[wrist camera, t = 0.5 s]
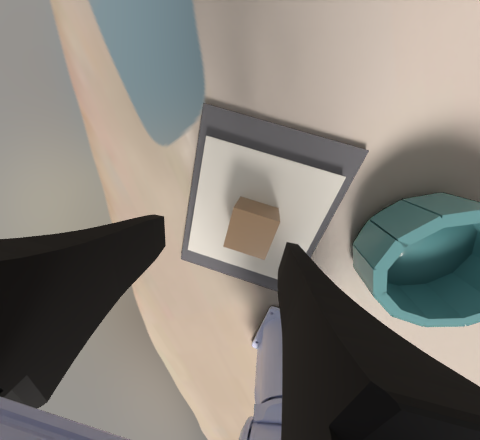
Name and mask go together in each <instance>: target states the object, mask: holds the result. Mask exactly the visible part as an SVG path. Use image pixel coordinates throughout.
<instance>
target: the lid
mask: <svg viewBox="0 0 480 440" xmlns="http://www.w3.org/2000/svg"><path fill="white" fill-rule="evenodd" d="M345 179H346V177H344V176H342V175H338V174H335V173H332V172H328V171H325V170H321V169H318V168H315V167H311V166H308V165H305V164H301V163H298V162H294V161H291V160H288V159H284V158H281V157H278V156H274V155H271V154H267V153H264V152H261V151H257V150H254V149H251V148H247V147H244V146H241V145H237V144H234V143H230V142H227V141H224V140H220V139H217V138H214V137H210V136H206V140H205V146H204V152H203V158H202V165H201V171H200V177H199V183H198V189H197V195H196V202H195V208H194V214H193V220H192V226H191V232H190V239H189V245H188V250H190V251H193V252H196V253H199V254H202V255H205V256H208V257H211V258H214V259H217V260H220V261H223V262H226V263H229V264H232V265H235V266H238V267H241V268H244V269H247V270H250V271H253V272H256V273H259V274H262V275H265V276H268V277H271V278H274V279H278V269H279V265H280V262H281V259H282V256H283V252H284V249H285V246H286V243H287V242H290V243H294V244H298V245H299V246H300V247H301V248H302V249H303V250H304V251H305V253H306V252H307V250H308V249H309V247H310V245H311V243H312V241H313V239H314V237H315V235H316V233H317V232H318V230H319V228H320V226H321V224H322V222H323V220H324V218H325V216H326V215H327V213H328V211H329V209H330V207H331V205H332V203H333V201H334V199H335V197H336V196H337V194H338V192H339V190H340V188H341V186H342V184H343V182H344V180H345Z"/></svg>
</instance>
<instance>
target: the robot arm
mask: <svg viewBox="0 0 480 440" xmlns="http://www.w3.org/2000/svg"><path fill="white" fill-rule="evenodd" d="M164 247H165V227H164V216H159V215H147V216H142V217H138V218H133V219H129V220H125V221H121V222H117V223H112V224H108V225H103V226H99V227H94V228H89V229H84V230H78V231H72V232H65V233H59V234H52V235H42V236H32V237H23V238H13V239H0V440H130V439H127V438H124V437H121V436H118V435H115V434H112V433H109V432H106V431H103V430H100V429H97V428H94V427H91V426H88V425H84V424H82V423H78V422H76V421H73V420H70V419H67V418H63V417H60V416H57V415H54V414H51V413H48V412H45V411H42V410H39V409H37V408H39V407H41V406H42V405H44V404H45V403H47V402H48V400H49V399H50V397H51V395H52V394H53V392H54V391H55V389H56V387H57V386H58V384H59V383H60V381H61V380H62V378H63V376H64V375H65V374H66V372H67V370H68V369H69V367H70V366H71V364H72V363H73V361H74V359H75V358H76V357H77V355H78V354H79V352H80V351H81V350H82V348H83V347H84V345H85V344H86V342H87V341H88V339H89V338H90V336H91V335H92V334H93V332H94V331H95V330H96V328H97V327H98V326H99V324H100V323H101V322H102V320H103V319H104V318H105V316H106V315H107V314H108V312H109V311H110V310H111V309H112V307H113V306H114V305H115V303H116V302H117V301H118V300H119V298H120V297H121V296H122V295H123V294H124V293H125V291H126V290H127V289H128V288H129V287H130V286H131V285H132V284H133V283H134V282H135V281H136V280H137V279H138V278H139V277H140V276H141V275H142V274H143V272H144V271H145V270H146V269H147V268H148V267H149V266H150V265H151V264H152V263H153V262H154V261H155V260H156V258H157V257H158V256H159V254H160V253H161V252H162V250H163V249H164ZM277 288H278V298H279V308H277V307H273V306H271V307H270V308H269V310H268V312H267V314H266V316H265V318H264V320H263V322H262V324H261V326H260V328H259V330H258V332H257V334H256V336H255V338H254V340H253V342H252V347H254V348H256V349H257V363H256V378H255V403H256V404H254V417H252V416H251V417H249V418H248V419H247V421H246V422H245V425H244V426H243V428H242V430H241V433H240V437H239V440H480V387H479V386H478V385H476V384H474V383H473V382H471V381H470V380H468V379H466V378H465V377H463V376H461V375H460V374H458V373H457V372H455V371H453V370H452V369H450V368H449V367H447V366H445V365H444V364H442V363H440V362H439V361H437V360H436V359H434V358H432V357H431V356H429V355H428V354H426V353H425V352H423V351H422V350H420V349H419V348H417V347H416V346H414V345H413V344H411V343H410V342H408V341H407V340H405V339H404V338H402V337H401V336H400V335H398V334H397V333H395V332H394V331H392V330H391V329H390V328H388V327H387V326H385V325H384V324H383V323H381V322H380V321H379V320H377V319H376V318H375V317H374V316H372V315H371V314H370V313H368V312H367V311H366V310H364V309H363V308H362V307H361V306H359V305H358V304H357V303H356V302H355V301H353V300H352V299H351V298H350V297H349V296H348V295H346V294H345V293H344V292H343V291H342V290H341V289H340V288H339V287H337V286H336V285H335V284H334V283H333V282H332V281H331V280H330V279H329V278H328V277H327V276H326V275H325V274H324V273H323V272H322V271H321V269H320V268H319V267H318V266H317V265H316V264H315V263H314V262H313V261H312V259H311V258H310V257H309V256H308V255H307V254H306V253H305V251H304V250H303V249H302V248H301V247H300V246H299V245H298V244H294V243H290V242H287V243H286V246H285V249H284V252H283V256H282V259H281V262H280V265H279V269H278V283H277Z"/></svg>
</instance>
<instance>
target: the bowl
mask: <svg viewBox="0 0 480 440" xmlns="http://www.w3.org/2000/svg"><path fill="white" fill-rule="evenodd" d="M353 244H354V245H353V267H354V269H355V270H356V272H357V273H358V275H359V276H360V277H361V279H362V280H363V282H364V283H365V285H366V286H367V288H368V289H369V291H370V292H371V294H372V295H373V296H374V298H375V299H376V300H377V301H378V302H379V303H380V304H381V305H382V306H383V308H384V309H385V310H386V311H387V312H388V313H389V314H390V315H391V316H392V317H395V318H398V319H401V320H404V321H407V322H410V323H413V324H416V325H419V326H422V327H423V326H424V327H458V326H465V325H466V326H469V325H472V324H475V323H478V322H480V202H477V201H473V200H469V199H466V198H462V197H458V196H454V195H451V194H447V193H435V194H429V195H423V196H418V197H412V198H406V199H402V200H399V201H398V202H396V203H394V204H393V205H391V206H389V207H387V208H385V209H383V210H381V211H380V212H379V213H377V214H376V215H374V216H373V217H372V218H370V220H368V221H367V223H366V224H365V225H364V227H363V228H362V229H361V231H360V233H359V234H358V237H357V238H356V240H355V241H354V243H353Z"/></svg>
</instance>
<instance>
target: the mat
mask: <svg viewBox="0 0 480 440" xmlns="http://www.w3.org/2000/svg"><path fill="white" fill-rule="evenodd" d="M206 136H210V137H214V138H217V139H220V140H224V141H227V142H230V143H234V144H237V145H241V146H244V147H247V148H251V149H254V150H257V151H261V152H264V153H267V154H271V155H274V156H278V157H281V158H284V159H288V160H291V161H294V162H298V163H301V164H305V165H308V166H311V167H315V168H318V169H321V170H325V171H328V172H332V173H335V174H338V175H342V176H344V177H346V179H345V180H344V182H343V184H342V186H341V188H340V190H339V192H338V194H337V196H336V197H335V199H334V201H333V203H332V205H331V207H330V209H329V211H328V213H327V215H326V216H325V218H324V220H323V222H322V224H321V226H320V228H319V230H318V232H317V233H316V235H315V237H314V239H313V241H312V243H311V245H310V247H309V249H308V250H307V252H306V254H307V255H308V256H309V257H311V255H312V254H313V252H314V250H315V248H316V246H317V245H318V243H319V241H320V239H321V237H322V235H323V234H324V232H325V230H326V228H327V226H328V224H329V223H330V221H331V219H332V217H333V215H334V214H335V212H336V210H337V208H338V206H339V204H340V203H341V201H342V199H343V197H344V195H345V193H346V192H347V190H348V188H349V186H350V184H351V183H352V181H353V179H354V177H355V175H356V173H357V172H358V170H359V168H360V166H361V164H362V163H363V161H364V159H365V157H366V155H367V153H368V152H369V150H365V149H362V148H358V147H355V146H351V145H348V144H344V143H341V142H337V141H334V140H331V139H327V138H324V137H320V136H317V135H313V134H310V133H306V132H303V131H299V130H296V129H292V128H289V127H285V126H282V125H278V124H275V123H271V122H268V121H264V120H261V119H258V118H254V117H251V116H247V115H244V114H240V113H237V112H233V111H230V110H226V109H223V108H219V107H216V106H212V105H209V104H205V103H204V104H203V111H202V117H201V124H200V131H199V138H198V145H197V152H196V159H195V166H194V172H193V179H192V186H191V193H190V200H189V207H188V214H187V221H186V227H185V234H184V241H183V248H182V255H181V259H182V260H185V261H188V262H191V263H194V264H197V265H200V266H203V267H206V268H209V269H212V270H215V271H218V272H221V273H224V274H227V275H230V276H233V277H236V278H239V279H242V280H245V281H248V282H251V283H254V284H257V285H260V286H263V287H266V288H269V289H272V290H275V291H278V288H277V283H278V279H274V278H271V277H268V276H265V275H262V274H259V273H256V272H253V271H250V270H247V269H244V268H241V267H238V266H235V265H232V264H229V263H226V262H223V261H220V260H217V259H214V258H211V257H208V256H205V255H202V254H199V253H196V252H193V251H190V250H188V245H189V239H190V232H191V226H192V220H193V214H194V208H195V202H196V195H197V189H198V183H199V177H200V171H201V165H202V158H203V152H204V146H205V140H206Z"/></svg>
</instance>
